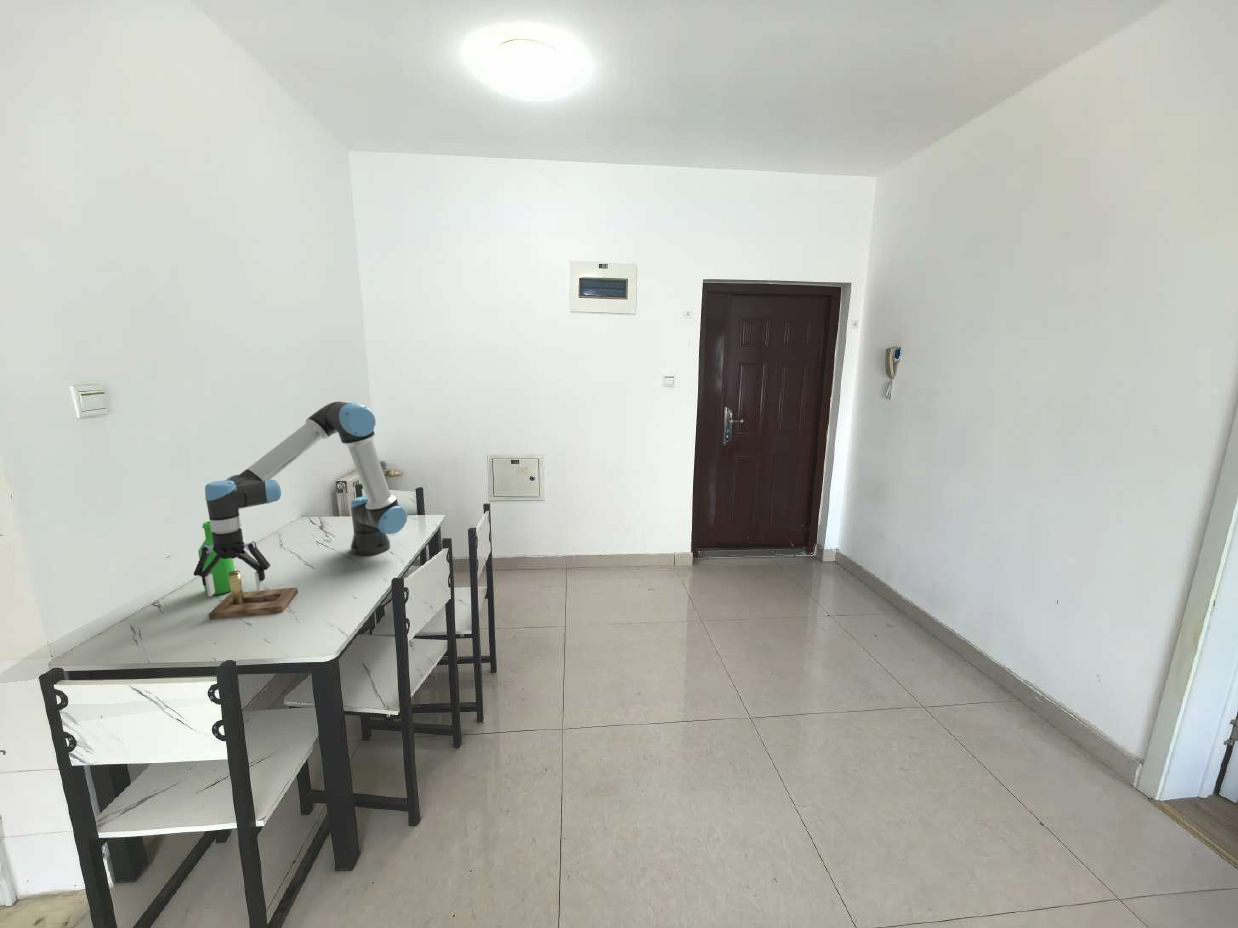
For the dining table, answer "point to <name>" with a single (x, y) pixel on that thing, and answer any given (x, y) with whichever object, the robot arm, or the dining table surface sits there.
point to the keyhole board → (255, 603)
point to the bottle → (217, 565)
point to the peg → (236, 587)
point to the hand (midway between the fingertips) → (236, 592)
